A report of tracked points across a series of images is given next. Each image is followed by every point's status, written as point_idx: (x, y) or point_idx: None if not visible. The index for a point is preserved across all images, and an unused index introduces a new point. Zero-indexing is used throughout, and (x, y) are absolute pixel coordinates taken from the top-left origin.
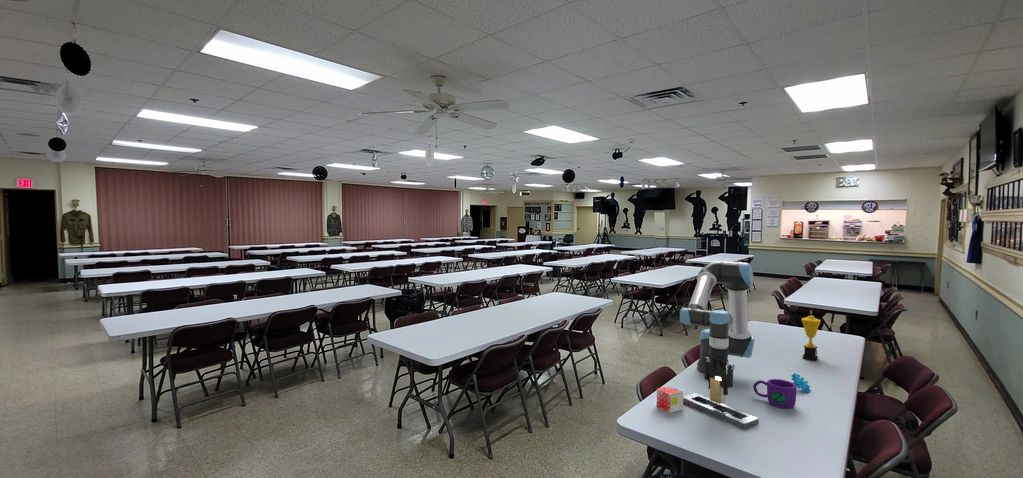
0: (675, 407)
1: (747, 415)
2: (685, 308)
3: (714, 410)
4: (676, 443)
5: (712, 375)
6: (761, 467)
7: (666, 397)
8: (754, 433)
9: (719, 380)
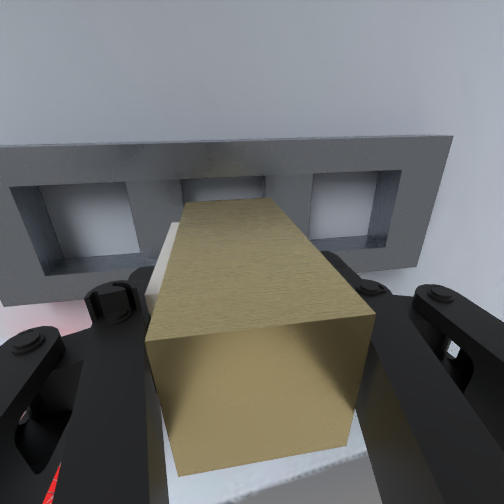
0: None
1: (395, 162)
2: None
3: None
4: (305, 467)
5: (166, 480)
6: None
7: None
8: (435, 243)
9: (333, 437)
